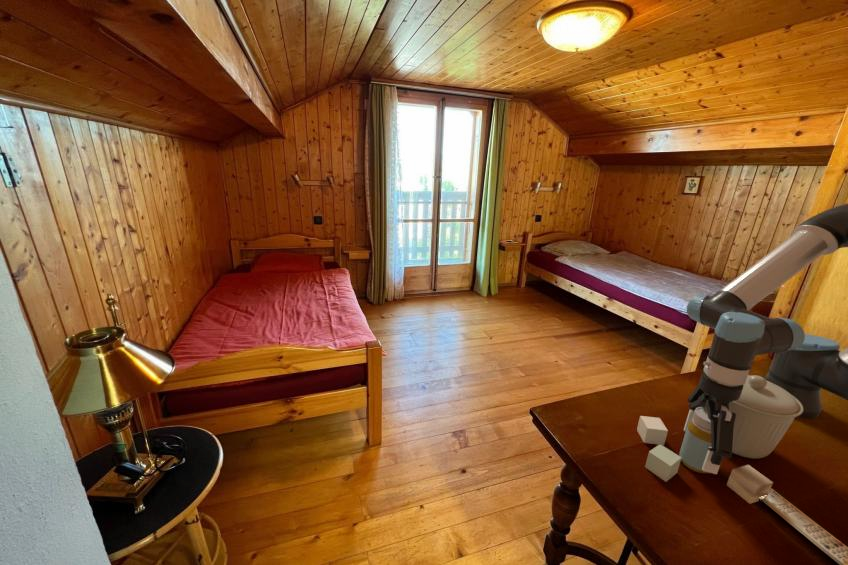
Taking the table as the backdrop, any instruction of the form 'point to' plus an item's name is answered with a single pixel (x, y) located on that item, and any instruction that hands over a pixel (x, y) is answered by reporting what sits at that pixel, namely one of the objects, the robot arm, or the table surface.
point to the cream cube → (652, 430)
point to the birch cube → (749, 483)
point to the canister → (761, 417)
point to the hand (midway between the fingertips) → (698, 450)
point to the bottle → (697, 440)
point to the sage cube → (663, 462)
